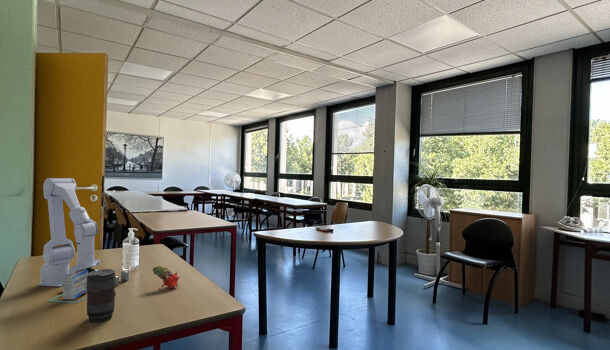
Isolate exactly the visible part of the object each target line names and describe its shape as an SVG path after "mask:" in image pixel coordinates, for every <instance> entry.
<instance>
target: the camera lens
mask: <svg viewBox="0 0 610 350" xmlns="http://www.w3.org/2000/svg"><path fill="white" fill-rule="evenodd" d="M115 272H116V271H115V269H110V268H107V269H106V268H105V269H99V270H97V271H93V272H90V273H88V275H87V292H86V297H87V298H86V315H87V318H88V321H89V322H91V323H101V322H106V321H108V320H110V319H112V318H113V313H114V312H115V305H116V299H115V297H116V295H117V294H116V289H115V288H116V287H115V275H116V273H115Z"/></svg>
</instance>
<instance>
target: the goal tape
mask: <svg viewBox="0 0 610 350" xmlns="http://www.w3.org/2000/svg"><path fill="white" fill-rule="evenodd" d="M61 296H63V293H62V294H60V295H58V296H55V297H52V298H51V299H49V300H47V302H54V303H66V304H67V303H68V304H71V303H72V304H78V303H80V302H82V301H84V300H87V296H86V297H84V298H82V299H79V300H78V301H65V300H55V299H57V298H60V297H61Z"/></svg>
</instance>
